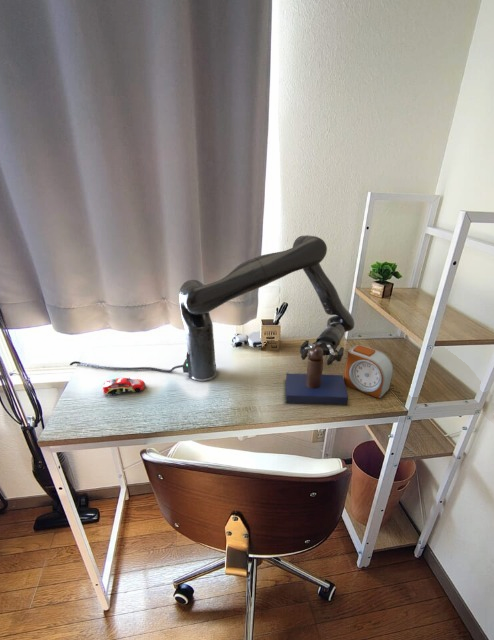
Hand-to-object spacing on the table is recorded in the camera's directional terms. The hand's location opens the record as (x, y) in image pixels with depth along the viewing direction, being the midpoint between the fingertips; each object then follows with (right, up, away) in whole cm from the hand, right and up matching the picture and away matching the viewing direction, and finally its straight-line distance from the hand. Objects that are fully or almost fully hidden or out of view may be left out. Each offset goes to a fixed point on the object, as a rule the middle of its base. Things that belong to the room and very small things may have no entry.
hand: (315, 360), depth 120 cm
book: (+1, -10, +7) cm, 13 cm away
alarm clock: (+19, -8, +12) cm, 23 cm away
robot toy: (-24, +10, +35) cm, 44 cm away
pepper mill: (0, -8, +5) cm, 10 cm away
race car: (-64, -10, +4) cm, 64 cm away
